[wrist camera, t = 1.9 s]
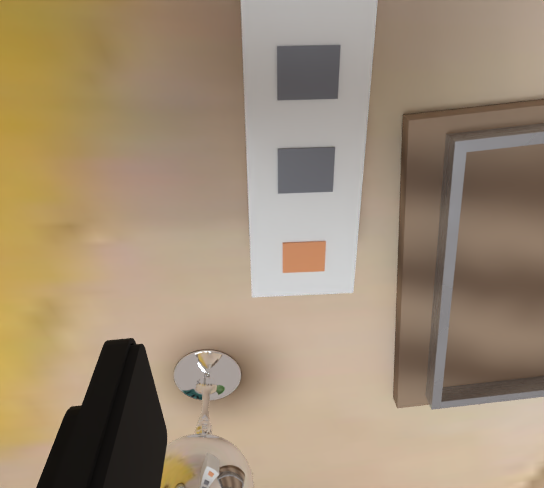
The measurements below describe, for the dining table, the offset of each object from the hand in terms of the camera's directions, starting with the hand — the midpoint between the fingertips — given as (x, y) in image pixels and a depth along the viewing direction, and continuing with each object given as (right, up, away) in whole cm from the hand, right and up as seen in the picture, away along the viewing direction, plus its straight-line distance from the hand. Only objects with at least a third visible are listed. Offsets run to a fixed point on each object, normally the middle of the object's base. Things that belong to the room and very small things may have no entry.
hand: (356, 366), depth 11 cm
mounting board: (+12, +1, +19) cm, 23 cm away
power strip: (-1, +9, +14) cm, 17 cm away
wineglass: (-6, -6, +22) cm, 24 cm away
